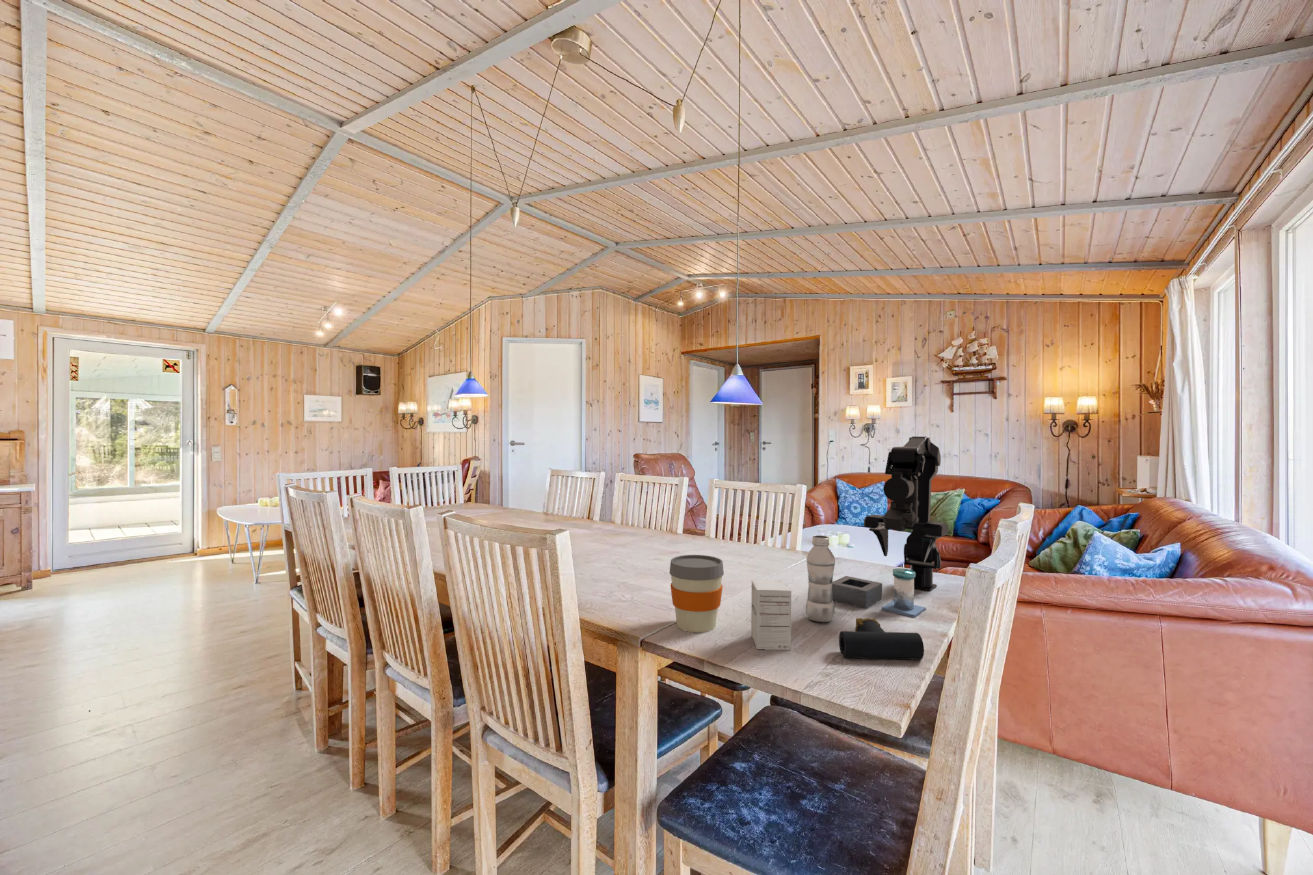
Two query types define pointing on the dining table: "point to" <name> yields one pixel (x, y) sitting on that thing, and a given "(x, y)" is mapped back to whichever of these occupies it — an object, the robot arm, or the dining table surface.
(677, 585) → the reusable coffee cup
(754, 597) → the supplement box
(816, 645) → the dining table surface
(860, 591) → the housing
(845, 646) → the pipe connector
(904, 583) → the green lidded jar
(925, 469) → the robot arm
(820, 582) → the plastic bottle
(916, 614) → the mat
